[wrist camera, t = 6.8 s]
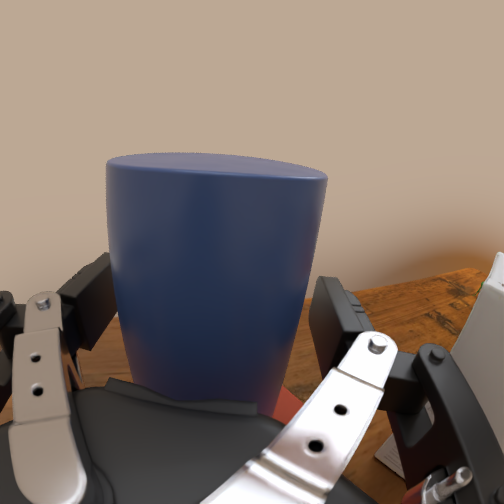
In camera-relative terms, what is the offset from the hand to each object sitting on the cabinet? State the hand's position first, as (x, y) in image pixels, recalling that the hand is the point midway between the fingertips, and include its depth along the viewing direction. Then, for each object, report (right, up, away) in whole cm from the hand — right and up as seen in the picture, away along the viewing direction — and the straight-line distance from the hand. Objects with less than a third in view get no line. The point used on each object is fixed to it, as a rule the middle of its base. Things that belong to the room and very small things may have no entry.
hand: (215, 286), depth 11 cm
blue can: (-1, -7, +1) cm, 7 cm away
